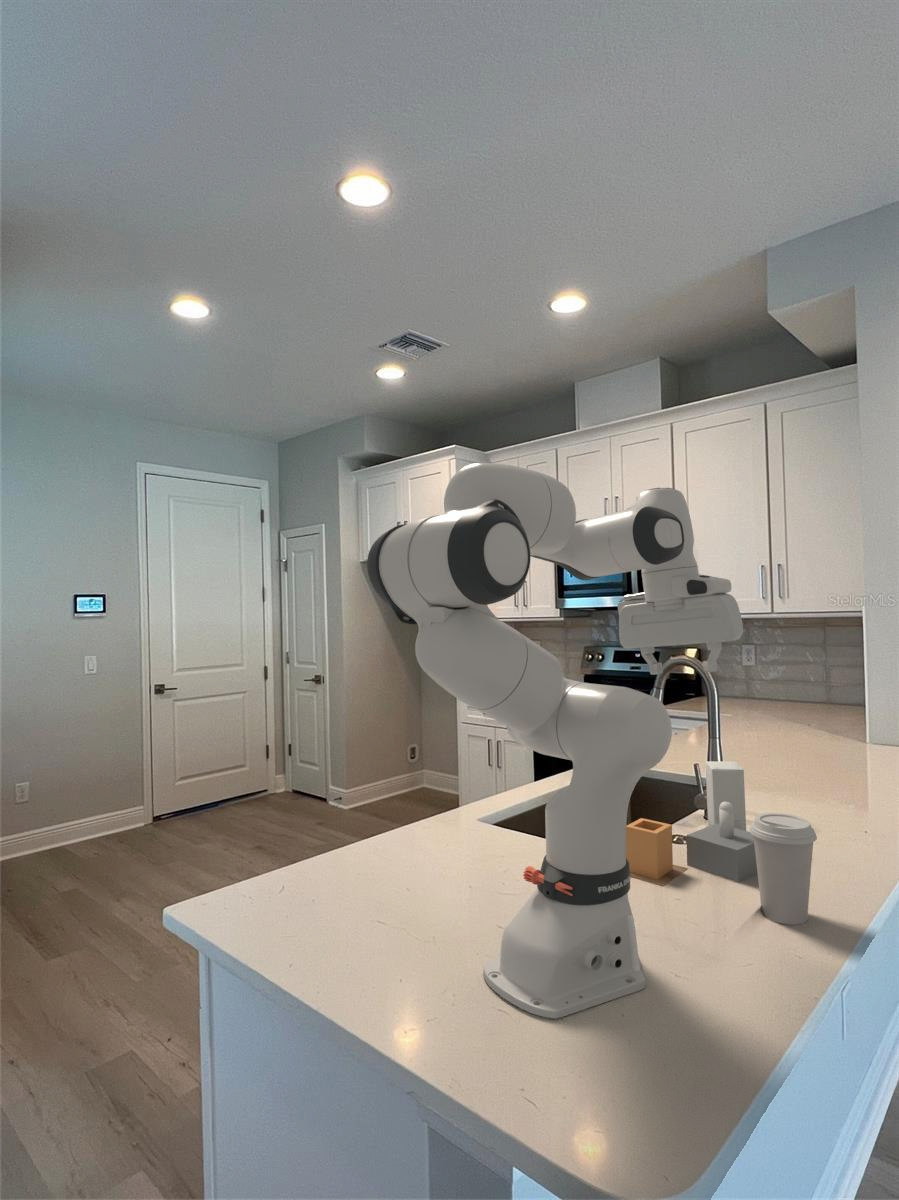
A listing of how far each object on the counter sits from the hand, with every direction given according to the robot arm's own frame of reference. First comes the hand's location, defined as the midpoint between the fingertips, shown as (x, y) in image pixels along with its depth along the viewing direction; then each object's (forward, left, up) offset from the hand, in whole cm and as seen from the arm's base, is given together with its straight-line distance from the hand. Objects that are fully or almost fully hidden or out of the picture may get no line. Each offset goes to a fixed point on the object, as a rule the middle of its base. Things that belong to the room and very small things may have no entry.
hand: (683, 673), depth 113 cm
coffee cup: (+9, -11, -39) cm, 41 cm away
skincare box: (+33, +13, -39) cm, 53 cm away
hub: (+17, +3, -38) cm, 42 cm away
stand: (+5, +11, -38) cm, 40 cm away
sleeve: (+5, +11, -37) cm, 39 cm away
